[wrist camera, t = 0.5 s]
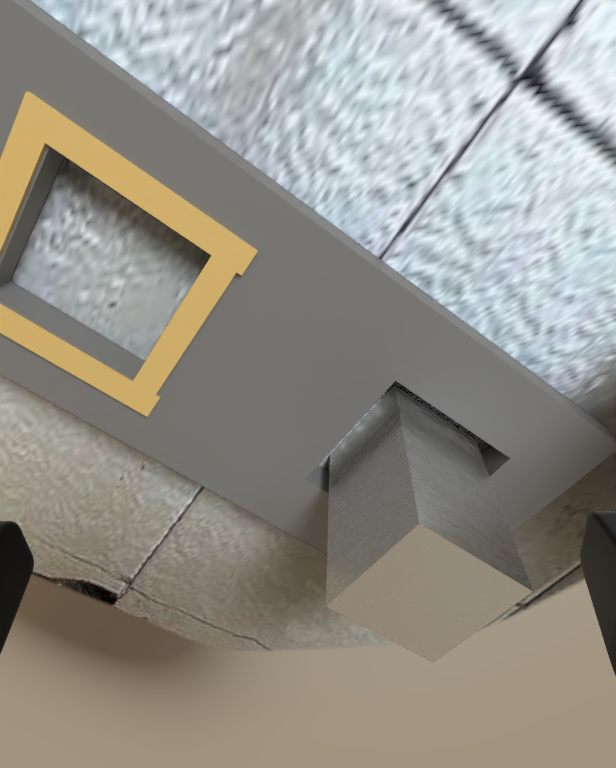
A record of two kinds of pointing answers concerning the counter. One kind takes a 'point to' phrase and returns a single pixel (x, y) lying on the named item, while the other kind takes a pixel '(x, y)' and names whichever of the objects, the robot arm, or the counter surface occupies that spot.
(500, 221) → the counter surface
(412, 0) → the counter surface
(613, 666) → the robot arm
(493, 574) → the peg
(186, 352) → the rail
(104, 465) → the counter surface
